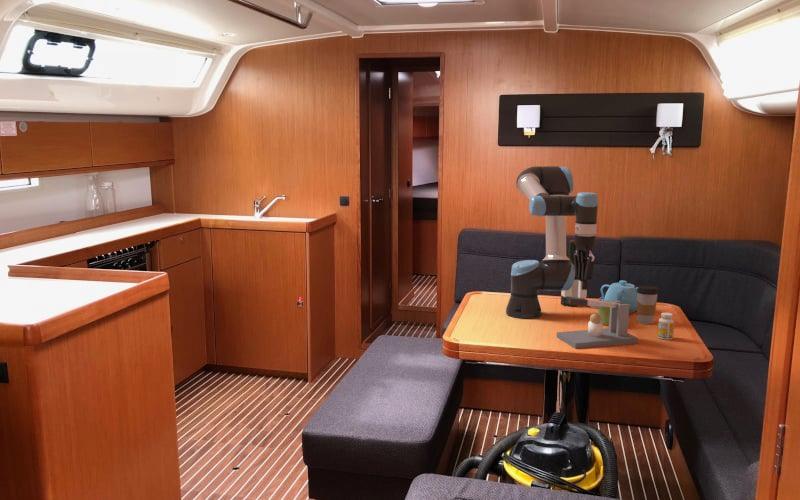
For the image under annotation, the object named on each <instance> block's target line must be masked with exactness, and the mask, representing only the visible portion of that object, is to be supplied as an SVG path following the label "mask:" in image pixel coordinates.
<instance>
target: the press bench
mask: <svg viewBox="0 0 800 500" xmlns="http://www.w3.org/2000/svg"><path fill="white" fill-rule="evenodd" d="M611 302H619V303H622V301H611ZM629 315H630V314H629V304H618V308H611V307H610V320H609V325H608V327H607V328H603V325H602V322H600V321H601V317H600V315H599V314H598V313H597V312H596V313H592V314H591V315H590V317H589V321H588V323H587V329H581V330H571V331H558V332H556V338H557V339H559V340H561V341H563V342H564V343H566V344H567V345H569V346H570V347H572V348H574V349H586V348H587V349H588V348H598V347H606V346H608V347H610V346H619V345H621V346H622V345H632V344H639V338H638V337H637V336H635V335H633V334H631V333H629V332H628V331H629Z"/></svg>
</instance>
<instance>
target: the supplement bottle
mask: <svg viewBox="0 0 800 500" xmlns="http://www.w3.org/2000/svg"><path fill="white" fill-rule="evenodd" d="M673 315H674V314H672V313H670V312H661V314H660V316H661V318H659V319H658V326H657V338H658V339H660V340H665V341H670V340H672V339H673V337H674V336H673V335H674V327H675V326H674V325H675V324H674V323H675V321H674V319H673V317H674V316H673Z"/></svg>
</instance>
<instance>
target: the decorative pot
mask: <svg viewBox="0 0 800 500" xmlns="http://www.w3.org/2000/svg"><path fill="white" fill-rule="evenodd" d="M600 287H601V288H600V294H601V296H600V297H599V298H598V301H622V303H621V304H629V315H631V314H632V313H633V312H637V289H638V286H637V287H636V285H634V284H632V283H628V281H627V280H622V279H621V280H619V281H618V282H613V283H611V284H607V283H606V284H603V285H602V286H600ZM605 287H606V288H608V289H607V290H606V292H605V293H604V288H605Z"/></svg>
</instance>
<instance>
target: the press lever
mask: <svg viewBox="0 0 800 500" xmlns="http://www.w3.org/2000/svg"><path fill="white" fill-rule="evenodd" d="M565 303H568V304H570V305H578V306H577V307H579V306H581V307H588V306H590V307H591V308H593V309H595V310H598V309H602V307H611V308H618V304H621V303H619V302H608V301H603V300H602V301H599V299H597V300H596V299H595V300H594V299H588V298H587V299H586V298H578V297H570V296H566V301H565Z"/></svg>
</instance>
